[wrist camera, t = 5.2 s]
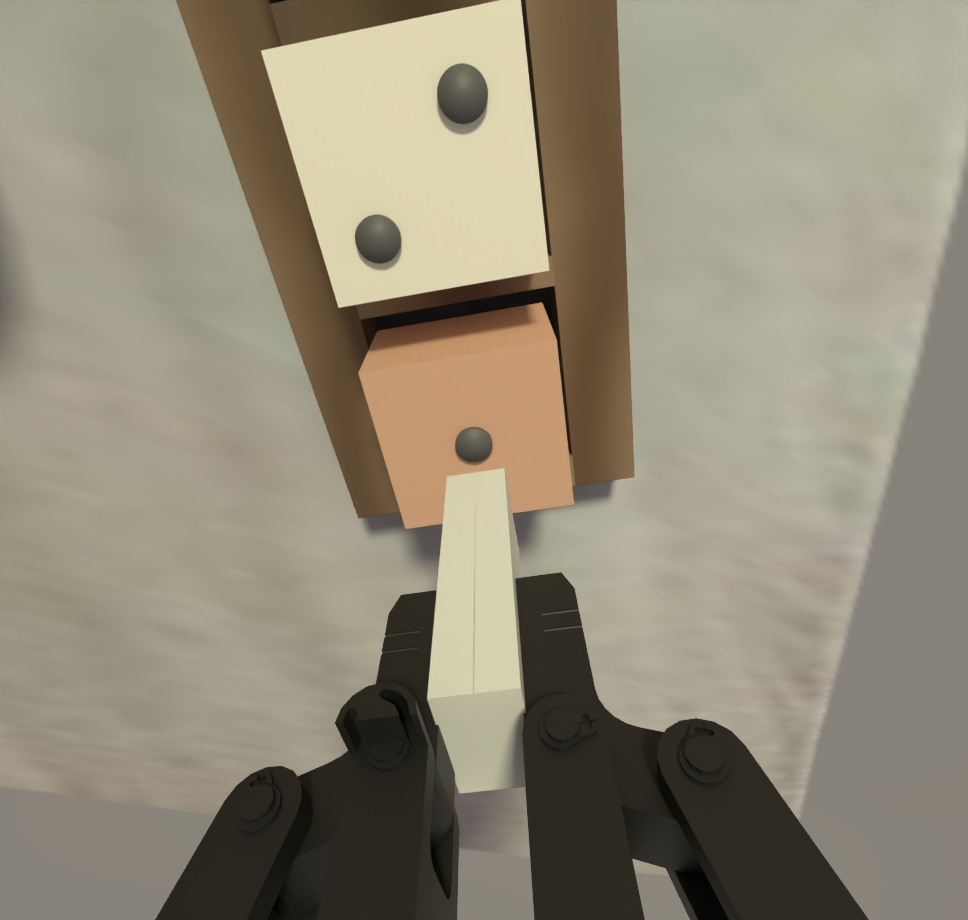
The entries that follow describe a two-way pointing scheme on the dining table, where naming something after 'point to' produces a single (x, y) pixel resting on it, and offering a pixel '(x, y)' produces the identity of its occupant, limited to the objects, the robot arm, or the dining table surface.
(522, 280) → the brown rectangular frame
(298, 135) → the cream two-knob drawer
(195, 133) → the dining table surface
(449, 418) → the peach drawer with knob
